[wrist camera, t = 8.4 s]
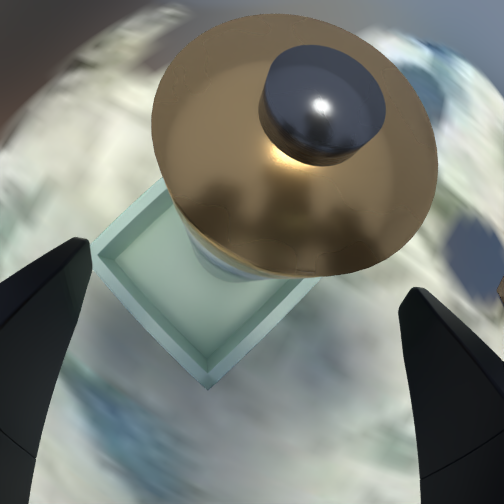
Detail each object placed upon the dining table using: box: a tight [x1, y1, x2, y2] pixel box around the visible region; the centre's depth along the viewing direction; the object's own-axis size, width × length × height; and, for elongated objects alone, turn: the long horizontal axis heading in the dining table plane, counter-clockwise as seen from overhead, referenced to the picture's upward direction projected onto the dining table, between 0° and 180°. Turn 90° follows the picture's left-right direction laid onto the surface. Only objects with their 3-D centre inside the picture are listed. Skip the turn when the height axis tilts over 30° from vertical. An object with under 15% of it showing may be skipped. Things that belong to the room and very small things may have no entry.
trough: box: [90, 177, 322, 390], centre depth 17 cm, size 13×9×4 cm, turn 134°
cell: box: [151, 14, 438, 282], centre depth 11 cm, size 5×5×14 cm
